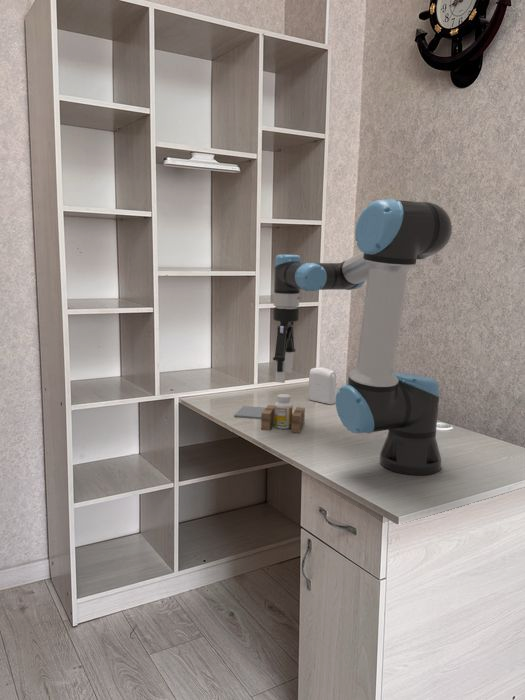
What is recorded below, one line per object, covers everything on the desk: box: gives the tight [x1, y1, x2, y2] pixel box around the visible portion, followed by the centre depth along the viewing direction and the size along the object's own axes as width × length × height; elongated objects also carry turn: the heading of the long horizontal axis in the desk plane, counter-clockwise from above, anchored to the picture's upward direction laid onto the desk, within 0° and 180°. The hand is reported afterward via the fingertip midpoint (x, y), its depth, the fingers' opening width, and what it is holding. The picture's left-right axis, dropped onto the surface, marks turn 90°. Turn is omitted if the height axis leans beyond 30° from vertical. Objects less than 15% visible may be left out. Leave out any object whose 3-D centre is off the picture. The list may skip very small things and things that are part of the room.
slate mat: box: [233, 405, 266, 420], centre depth 196 cm, size 12×12×1 cm
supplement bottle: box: [273, 393, 294, 430], centre depth 181 cm, size 5×5×10 cm
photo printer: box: [308, 366, 337, 405], centre depth 212 cm, size 10×4×12 cm, turn 47°
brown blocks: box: [260, 404, 306, 434], centre depth 182 cm, size 10×12×5 cm
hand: (284, 377), depth 180 cm, fingers open, 13 cm apart
